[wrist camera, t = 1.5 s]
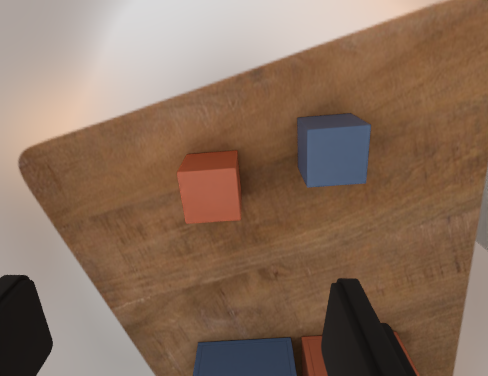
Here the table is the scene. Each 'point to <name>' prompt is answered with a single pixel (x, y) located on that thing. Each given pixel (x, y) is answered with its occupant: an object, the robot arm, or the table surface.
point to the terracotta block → (210, 187)
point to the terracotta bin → (313, 360)
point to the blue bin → (245, 358)
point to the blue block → (333, 149)
